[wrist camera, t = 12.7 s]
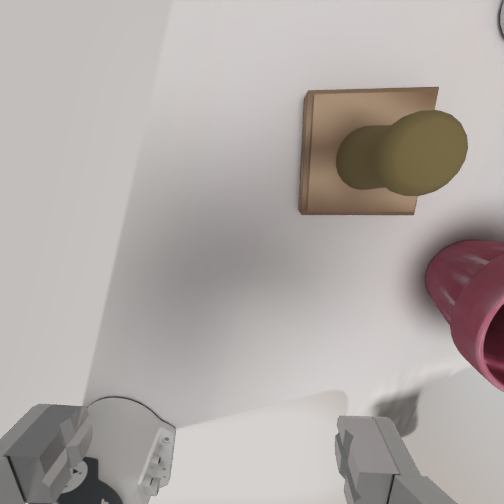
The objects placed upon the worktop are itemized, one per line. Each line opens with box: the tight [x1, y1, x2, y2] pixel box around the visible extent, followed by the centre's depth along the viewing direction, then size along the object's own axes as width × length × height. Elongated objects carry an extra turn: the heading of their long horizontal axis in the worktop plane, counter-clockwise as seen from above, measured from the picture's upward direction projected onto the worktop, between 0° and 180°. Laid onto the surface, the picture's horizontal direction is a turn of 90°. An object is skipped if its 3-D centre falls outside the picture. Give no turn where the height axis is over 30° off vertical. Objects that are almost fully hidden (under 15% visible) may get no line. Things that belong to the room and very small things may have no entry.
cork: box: [336, 110, 468, 196], centre depth 20 cm, size 6×6×11 cm
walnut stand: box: [299, 87, 439, 215], centre depth 27 cm, size 12×12×4 cm
